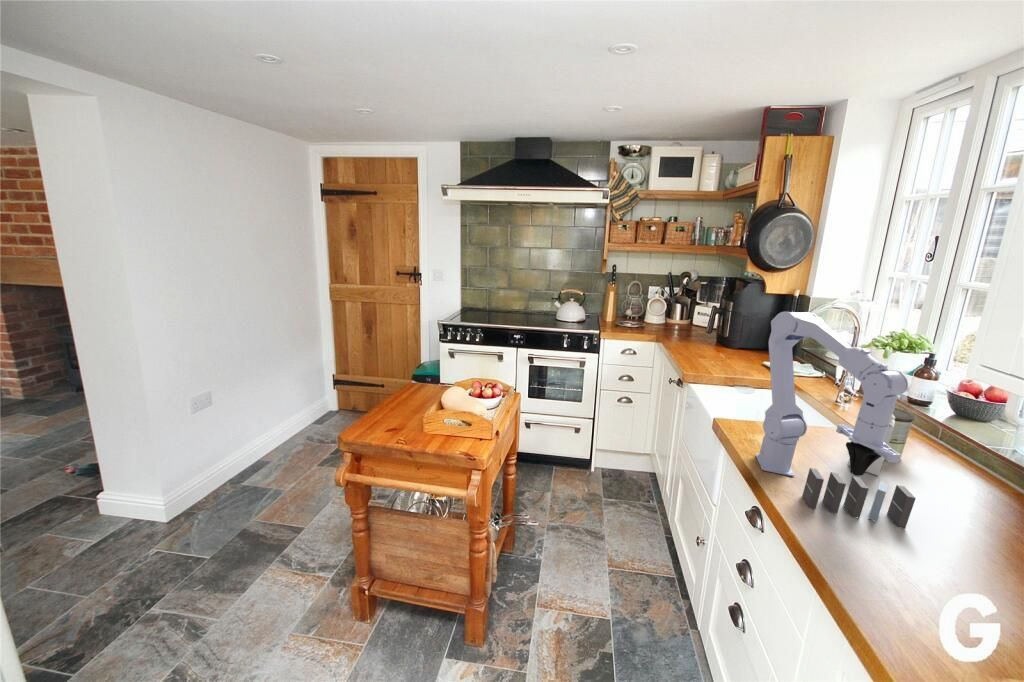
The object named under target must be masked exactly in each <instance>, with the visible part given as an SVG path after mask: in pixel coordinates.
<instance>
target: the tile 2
mask: <svg viewBox="0 0 1024 682" xmlns="http://www.w3.org/2000/svg"><path fill="white" fill-rule="evenodd" d="M846 485H847V484H846V482H845V481H844V480H843V477H841V476H840V474H839V473H837V472H830V473H829V478H828V481H827V485H826V488H825V491H824V495H823V499H822V502H823V503H824V506H826V508H827V510H828V511H829V513H833V514H836V515H837V514H838V512H839V508H840V505H841V503H842V502H841V501H842V499H843V496H844V492H845V488H846Z"/></svg>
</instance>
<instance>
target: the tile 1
mask: <svg viewBox="0 0 1024 682" xmlns="http://www.w3.org/2000/svg"><path fill="white" fill-rule="evenodd" d="M824 481H825V479H824V477H823V476H822V475H821V473H820V472H819V470H818V469H817V468H813V467H809V470H808V474H807V478H806V481H805V485H804V488H803V492H802V495H801V496H802V499H803V501H804V502H805V504H806V505H807V507H808V508H810V509H813V510H816V509H817V507H818V506H817V505H818V503H819V499H820V497H821V496H820V495H821V492H822V488H823V484H824Z"/></svg>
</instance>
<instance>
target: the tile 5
mask: <svg viewBox="0 0 1024 682" xmlns="http://www.w3.org/2000/svg"><path fill="white" fill-rule="evenodd" d="M915 502H916V497H915V496H914V495H913V494H912V493H911V492H910V490H908V489H907V488H906V486H904V485H900V484H899V485H898V484H896V486H895V489H894V491H893V494H892V498H891V500H890V504H889V507H888V509H887V513H886V515H887V514H888V515H889V516H890V517H889V516H888V515H887V516H888V517H889V518H891V519H892V520H893V521H892V520H891V519H890V520H891V521H892V522H893V523H894V524H896V525H897V526H896V525H895V526H896V527H897V528H900V527H901V529H906V527H907V525H908V521H909V518H910V517H911V513H912V509H913V507H914V505H915Z"/></svg>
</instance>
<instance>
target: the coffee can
mask: <svg viewBox="0 0 1024 682" xmlns="http://www.w3.org/2000/svg"><path fill="white" fill-rule="evenodd" d="M893 415H894V416H895V419H894V420H895V424H894V428H893V432H892V435H891V438H890V441H889V444H888V446H889V447H890V448H892V449H893V450H894V451H895V452H897V453H899V454H900V455H901V456H900V459H899V461H901V460H902V459H901V458H902V455H903V453H904V449H905V446H906V443H907V439H908V437H909V434H910V431H911V429H912V424H913V422H914V421H915V416H914V415H913V414H911V413H909V412H908V411H905V410H902V409H900V408H897V407H895V408H894V411H893ZM883 461H887V459H886V458H884V460H883Z"/></svg>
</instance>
